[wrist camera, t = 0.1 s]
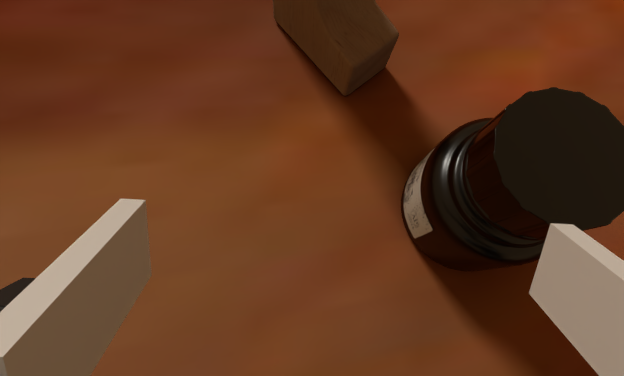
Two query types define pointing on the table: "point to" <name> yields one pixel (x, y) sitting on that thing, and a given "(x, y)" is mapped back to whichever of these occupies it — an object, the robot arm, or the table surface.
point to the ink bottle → (516, 181)
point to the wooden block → (340, 37)
